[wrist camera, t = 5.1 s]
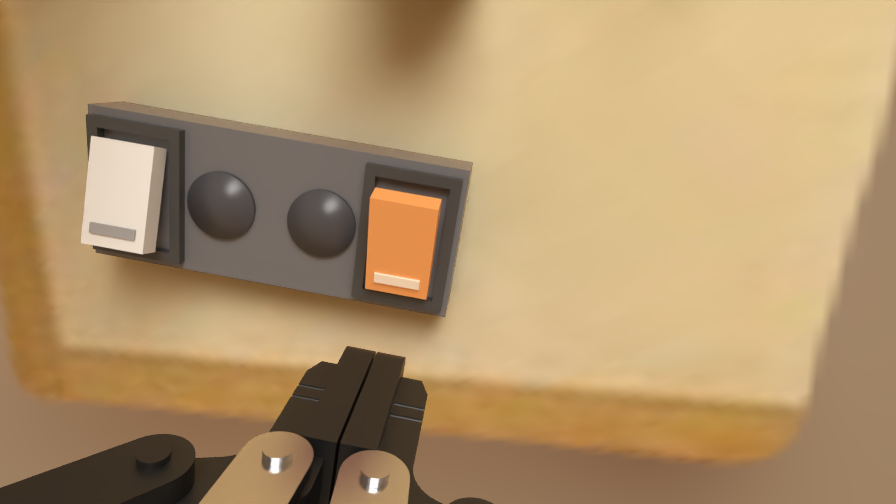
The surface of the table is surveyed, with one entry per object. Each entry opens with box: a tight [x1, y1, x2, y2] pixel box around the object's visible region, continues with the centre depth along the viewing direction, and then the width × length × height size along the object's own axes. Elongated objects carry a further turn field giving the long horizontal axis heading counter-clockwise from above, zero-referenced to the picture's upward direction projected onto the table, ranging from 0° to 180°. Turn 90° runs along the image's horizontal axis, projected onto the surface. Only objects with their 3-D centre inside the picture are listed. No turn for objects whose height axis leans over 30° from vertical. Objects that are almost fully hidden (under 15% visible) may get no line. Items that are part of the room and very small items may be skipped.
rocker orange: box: [365, 187, 442, 300], centre depth 30 cm, size 6×4×1 cm, turn 171°
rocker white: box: [81, 136, 167, 254], centre depth 30 cm, size 6×4×1 cm, turn 171°
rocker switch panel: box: [86, 102, 473, 317], centre depth 33 cm, size 9×22×4 cm, turn 81°
